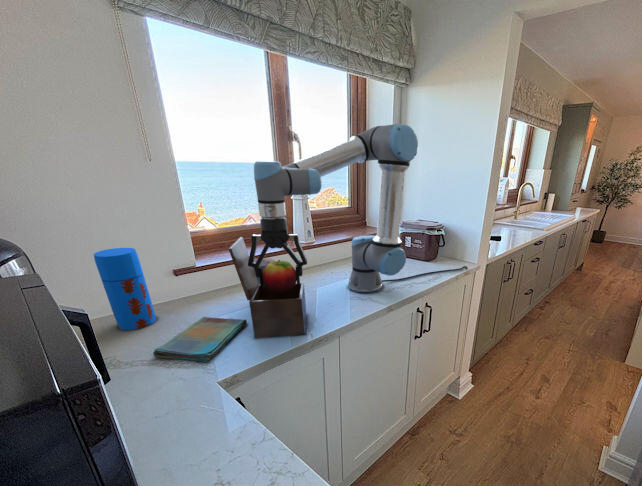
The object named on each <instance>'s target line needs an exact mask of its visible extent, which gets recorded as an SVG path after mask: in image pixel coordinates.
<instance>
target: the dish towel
mask: <svg viewBox="0 0 642 486" xmlns="http://www.w3.org/2000/svg"><path fill="white" fill-rule="evenodd" d="M247 324H248V321H247V319H245V318H243V319H242V318H241V319H240V318H224V317H223V318H222V317H211V316H210V317H209V316H202V317H201V318H200V319H198V320H197V321H196V322H194V323H192V324H191V325H189V326H188V327H187V328H185V329H184V330H182V331H181V332H179V333H178V334H176V335H175V336H174V337H172V338H171V339H170V340H168V341H167V342H165V343H164V344H162V345H160V346H159V347H156V348H155V349H154V351H153V352H152V354H153V356H154V357H156V358H158V359H177V360H178V359H179V360H181V359H182V360H188V361H196V362H205V363H207V362H209V361H210V360H211V359H212V358H214V357H215V355H216V354H217V353H218V352H219V351H220V350H222V348H223V347H224V346H225V345H226V344H227V343H228V342H229V341H230V340H231V339H233V337H234V336H235V335H236V334H238V332H240V331H241V329H243V327H245V326H246V325H247Z"/></svg>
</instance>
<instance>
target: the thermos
mask: <svg viewBox="0 0 642 486" xmlns="http://www.w3.org/2000/svg"><path fill="white" fill-rule="evenodd" d="M93 258H94V259H93V260H94V263H95V266H96V268H97V271H98V274H99V277H100V280H101V283H102V285H103V289H104V291H105V295H106V296H107V299H108V300H107V301H108V302H109V306H110V308H111V311H112V314H113V317H114V320H115V321H116V324H117V326H118V328H119V329H121V330H123V331H133V330H138V329H142V328H145V327H148V326H150V325H152V324H153V323H155V322H156V321H157V317H156V313H155V309H154V305H153V302H152V299H151V295H150V292H149V288H148V284H147V281H146V278H145V275H144V271H143V268H142V265H141V261H140V258H139V254H138V253H137V251H136V248H133V247H114V248H108V249H107V248H106V249H102V250H99V251H96V252H94V253H93Z"/></svg>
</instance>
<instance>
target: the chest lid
mask: <svg viewBox="0 0 642 486" xmlns="http://www.w3.org/2000/svg"><path fill="white" fill-rule="evenodd" d="M228 252H229V254H230V258H231V260H232V263H233V265H234V268H235V270H236V273H237V276H238V279H239V281H240V284H241V287H242V290H243V292H244V295H245V297H246V300H247V301H250V299H251V297H252V295H253V293H254V291H255V289H256V287H257V285H258V281H257V278H256V275H255V272H254V269H253V267H249V266H248V261H249V256H250V253H249V252H248V249H247V245H246V243H245V240H244V237H243V236H240V237H239V238H238V239H237V240H236V241H235V242H233V244H231V246H230V247H229V248H228Z"/></svg>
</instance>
